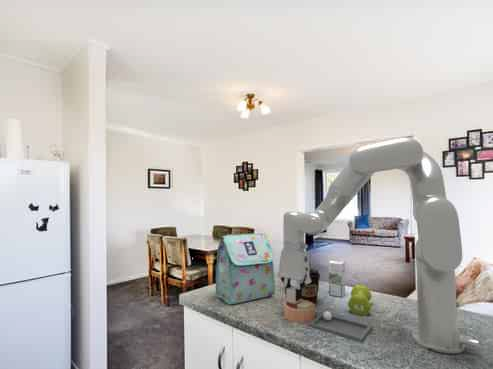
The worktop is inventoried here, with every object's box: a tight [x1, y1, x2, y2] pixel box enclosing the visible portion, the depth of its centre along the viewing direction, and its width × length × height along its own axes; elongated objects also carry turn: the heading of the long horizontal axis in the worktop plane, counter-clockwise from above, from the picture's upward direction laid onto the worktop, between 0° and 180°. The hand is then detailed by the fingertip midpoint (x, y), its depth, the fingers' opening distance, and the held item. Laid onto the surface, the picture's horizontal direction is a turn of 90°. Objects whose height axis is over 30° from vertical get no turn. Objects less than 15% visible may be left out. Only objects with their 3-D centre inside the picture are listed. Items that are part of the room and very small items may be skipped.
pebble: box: [322, 310, 333, 321], centre depth 96 cm, size 3×3×3 cm
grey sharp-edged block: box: [285, 286, 301, 304], centre depth 101 cm, size 4×4×4 cm
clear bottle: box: [328, 259, 346, 298], centre depth 124 cm, size 6×6×14 cm
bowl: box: [283, 299, 316, 324], centre depth 100 cm, size 10×10×4 cm
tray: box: [308, 312, 373, 343], centre depth 91 cm, size 16×11×2 cm, turn 52°
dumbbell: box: [347, 284, 373, 317], centre depth 108 cm, size 16×8×7 cm, turn 155°
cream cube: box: [297, 302, 312, 310], centre depth 99 cm, size 4×4×4 cm
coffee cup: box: [301, 268, 321, 306], centre depth 114 cm, size 9×8×13 cm
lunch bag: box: [215, 233, 276, 306], centre depth 122 cm, size 23×16×27 cm
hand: (293, 297), depth 101 cm, fingers closed on grey sharp-edged block, 3 cm apart
